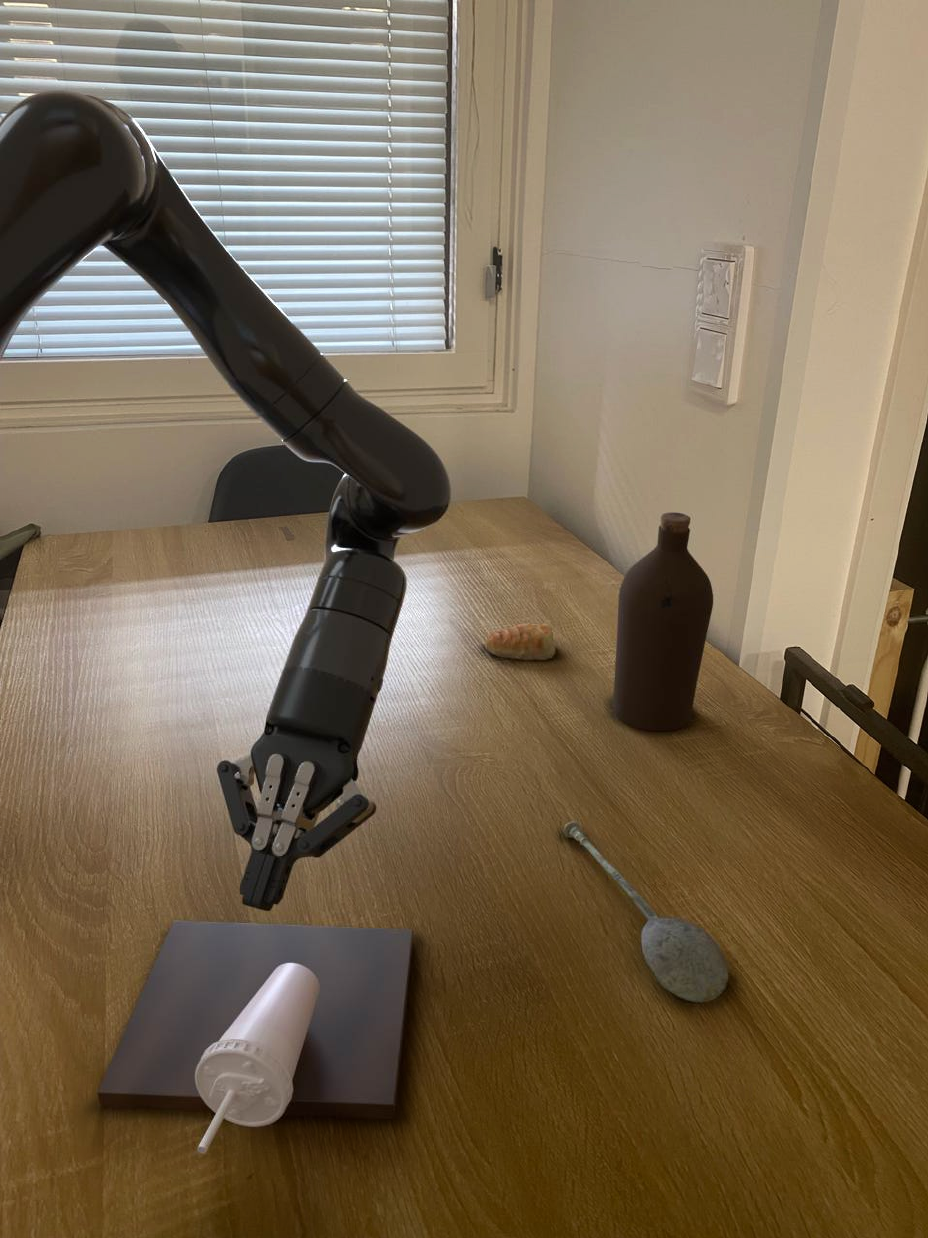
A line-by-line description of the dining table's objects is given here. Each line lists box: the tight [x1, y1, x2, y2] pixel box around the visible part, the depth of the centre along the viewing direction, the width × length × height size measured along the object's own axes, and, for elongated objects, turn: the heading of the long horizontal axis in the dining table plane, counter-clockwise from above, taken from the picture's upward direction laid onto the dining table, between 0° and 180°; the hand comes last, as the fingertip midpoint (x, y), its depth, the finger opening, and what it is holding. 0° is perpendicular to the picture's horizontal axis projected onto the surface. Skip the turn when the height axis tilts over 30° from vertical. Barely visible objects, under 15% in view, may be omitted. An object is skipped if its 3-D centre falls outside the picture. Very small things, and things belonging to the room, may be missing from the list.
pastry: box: [484, 622, 556, 661], centre depth 124 cm, size 9×7×4 cm
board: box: [97, 920, 414, 1120], centre depth 68 cm, size 20×16×2 cm
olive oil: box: [612, 511, 714, 733], centre depth 105 cm, size 11×11×25 cm
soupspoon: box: [562, 820, 729, 1004], centre depth 79 cm, size 22×3×7 cm
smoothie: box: [195, 963, 320, 1155], centre depth 60 cm, size 6×6×14 cm
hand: (256, 907), depth 65 cm, fingers closed
